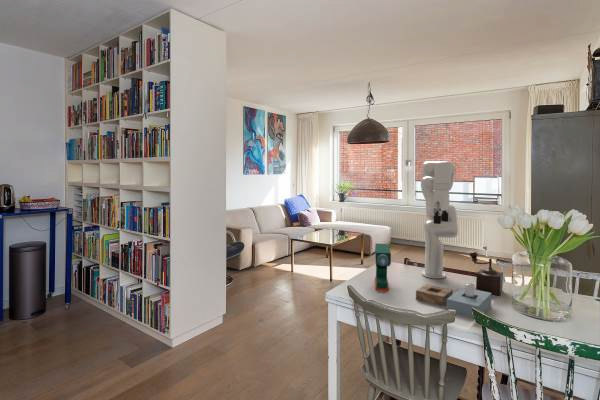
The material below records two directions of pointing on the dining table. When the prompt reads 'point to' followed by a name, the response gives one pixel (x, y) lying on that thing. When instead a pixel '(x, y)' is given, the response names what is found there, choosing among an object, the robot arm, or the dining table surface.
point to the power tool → (382, 266)
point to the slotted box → (469, 302)
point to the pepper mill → (488, 278)
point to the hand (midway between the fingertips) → (441, 222)
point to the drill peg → (469, 290)
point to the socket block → (433, 294)
